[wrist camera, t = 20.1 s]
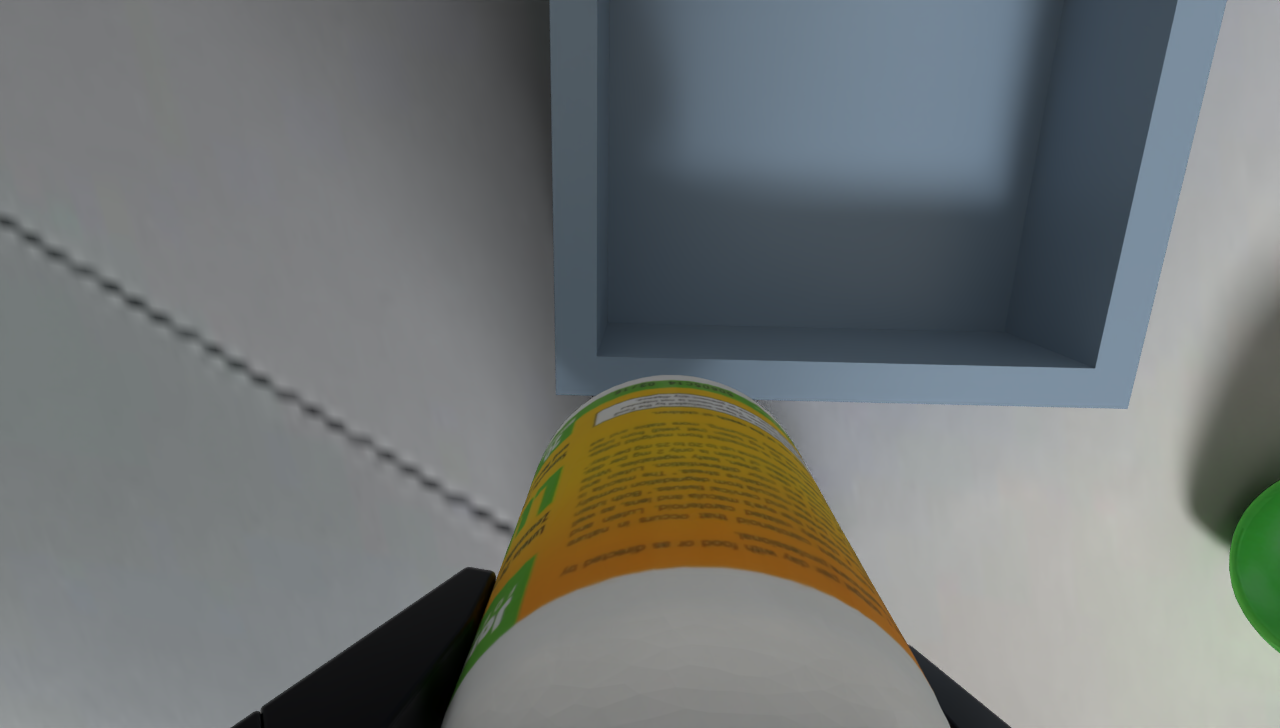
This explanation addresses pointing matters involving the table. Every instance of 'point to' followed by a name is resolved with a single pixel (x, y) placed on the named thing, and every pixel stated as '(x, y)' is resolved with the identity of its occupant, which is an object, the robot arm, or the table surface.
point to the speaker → (1259, 564)
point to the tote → (869, 193)
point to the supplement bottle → (683, 583)
